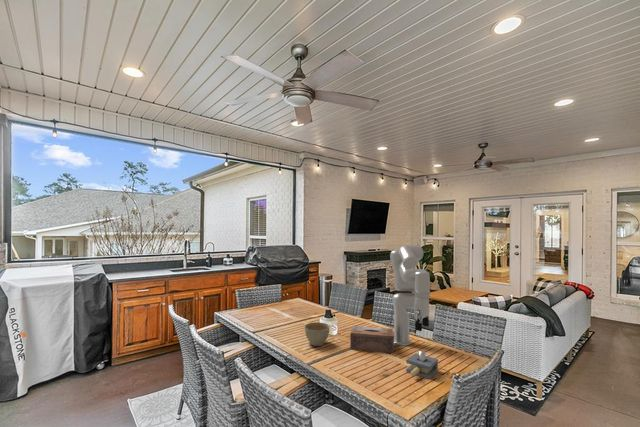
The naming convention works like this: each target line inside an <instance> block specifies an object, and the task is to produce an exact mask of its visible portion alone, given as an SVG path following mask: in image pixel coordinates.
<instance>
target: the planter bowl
mask: <svg viewBox="0 0 640 427" xmlns="http://www.w3.org/2000/svg"><path fill="white" fill-rule="evenodd" d="M330 328H331V327H330V325H329V324H328V323H325V322H316V321H315V322H309V323H306V324H305V325H304V333H305V336H306V339H307V341H308V342H309V345H310V346H315V347H320V346H323V345H324V344H326V343H325V342H326V341H327V339H328V337H329V335H330Z"/></svg>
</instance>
